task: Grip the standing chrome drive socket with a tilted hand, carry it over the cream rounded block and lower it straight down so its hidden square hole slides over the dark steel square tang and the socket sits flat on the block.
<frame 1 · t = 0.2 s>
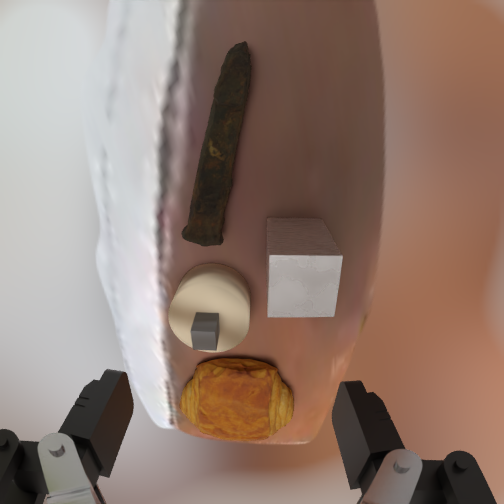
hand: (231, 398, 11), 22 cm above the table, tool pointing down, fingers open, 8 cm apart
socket: (293, 243, 32), on the table
cream rounded block: (214, 295, 35), on the table
hand tool: (218, 139, 29), on the table
croissant: (239, 387, 41), on the table
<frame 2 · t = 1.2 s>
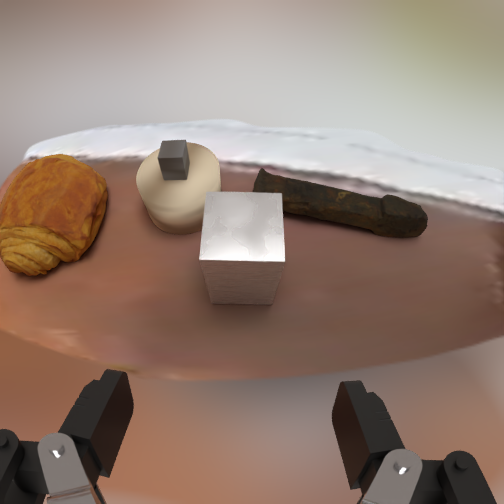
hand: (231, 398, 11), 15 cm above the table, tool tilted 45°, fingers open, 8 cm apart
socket: (242, 276, 29), on the table
cream rounded block: (184, 202, 33), on the table
hand tool: (339, 215, 33), on the table
croissant: (58, 223, 32), on the table
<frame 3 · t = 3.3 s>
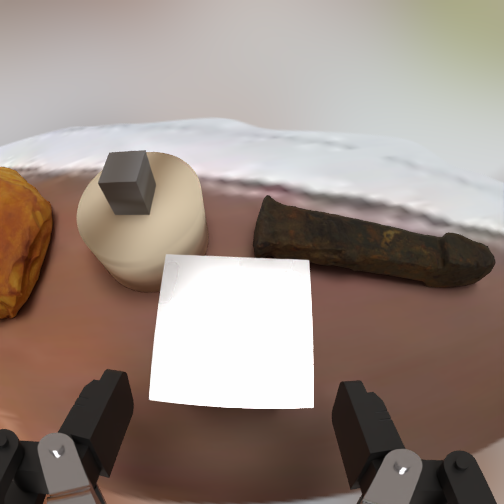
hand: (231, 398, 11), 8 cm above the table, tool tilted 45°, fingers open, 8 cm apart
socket: (236, 363, 19), on the table
cream rounded block: (154, 240, 22), on the table
hand tool: (378, 259, 23), on the table
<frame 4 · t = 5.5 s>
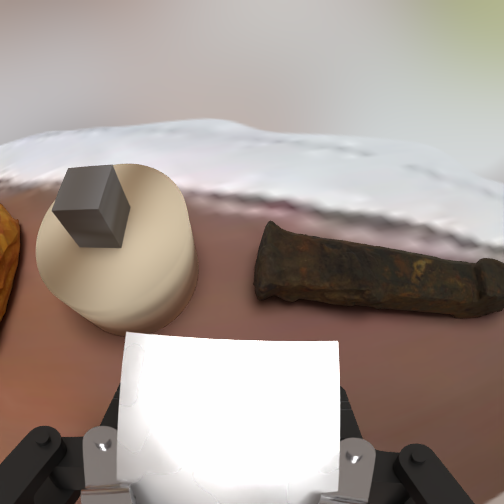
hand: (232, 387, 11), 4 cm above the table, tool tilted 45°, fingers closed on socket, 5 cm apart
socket: (233, 424, 14), on the table, touching gripper
cream rounded block: (133, 271, 18), on the table
hand tool: (401, 289, 19), on the table
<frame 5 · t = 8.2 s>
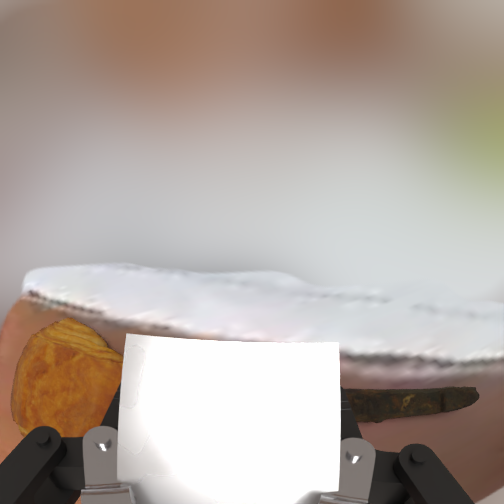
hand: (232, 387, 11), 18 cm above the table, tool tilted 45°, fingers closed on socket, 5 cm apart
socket: (233, 425, 14), point 14 cm above the table, touching gripper
hand tool: (395, 399, 28), on the table
croissant: (84, 401, 27), on the table
when the fingers open (11 cm above the table, at t = 11.2 s): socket drops 1 cm, resting on cream rounded block.
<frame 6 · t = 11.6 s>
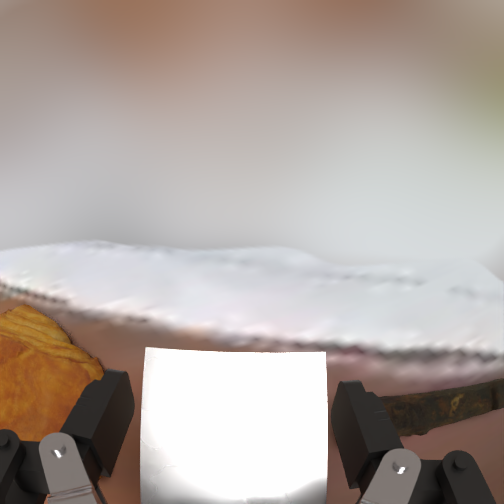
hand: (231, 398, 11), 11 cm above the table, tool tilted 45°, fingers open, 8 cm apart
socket: (235, 424, 16), point 5 cm above the table, touching cream rounded block
hand tool: (436, 401, 21), on the table
croissant: (45, 410, 19), on the table
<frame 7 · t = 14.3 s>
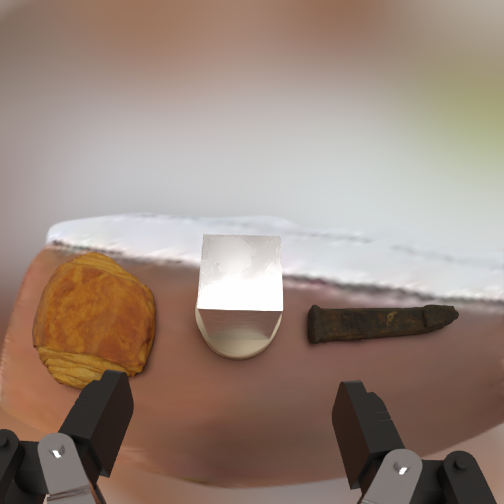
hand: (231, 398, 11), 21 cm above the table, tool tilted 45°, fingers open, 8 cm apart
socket: (240, 310, 29), point 5 cm above the table, touching cream rounded block
cream rounded block: (238, 323, 33), on the table, touching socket
hand tool: (382, 323, 34), on the table
croissant: (102, 328, 33), on the table
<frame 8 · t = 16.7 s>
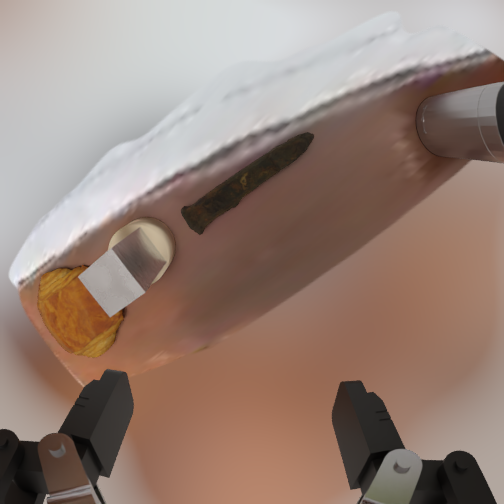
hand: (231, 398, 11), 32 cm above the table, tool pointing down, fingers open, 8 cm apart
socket: (137, 256, 38), point 5 cm above the table, touching cream rounded block
cream rounded block: (148, 245, 42), on the table, touching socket
hand tool: (247, 173, 40), on the table
croissant: (86, 305, 45), on the table
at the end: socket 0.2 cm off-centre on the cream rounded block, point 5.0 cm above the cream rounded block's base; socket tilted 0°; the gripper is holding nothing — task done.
